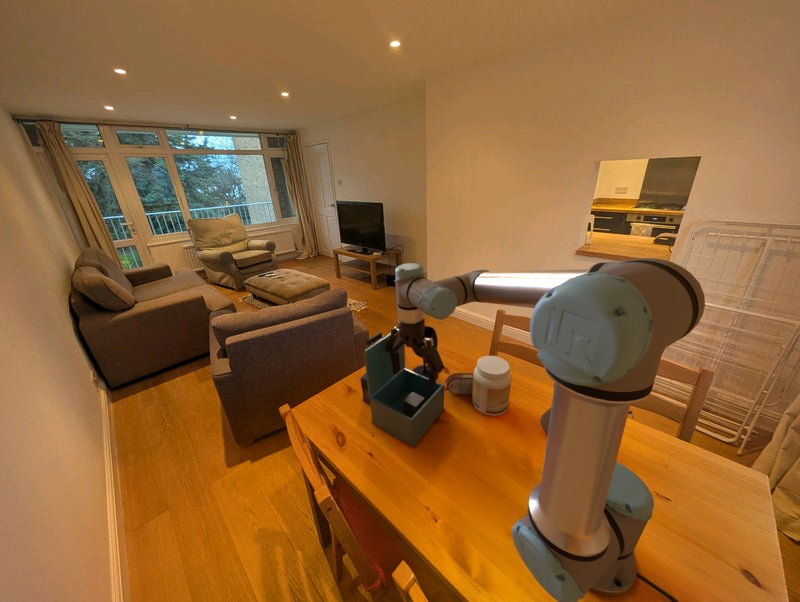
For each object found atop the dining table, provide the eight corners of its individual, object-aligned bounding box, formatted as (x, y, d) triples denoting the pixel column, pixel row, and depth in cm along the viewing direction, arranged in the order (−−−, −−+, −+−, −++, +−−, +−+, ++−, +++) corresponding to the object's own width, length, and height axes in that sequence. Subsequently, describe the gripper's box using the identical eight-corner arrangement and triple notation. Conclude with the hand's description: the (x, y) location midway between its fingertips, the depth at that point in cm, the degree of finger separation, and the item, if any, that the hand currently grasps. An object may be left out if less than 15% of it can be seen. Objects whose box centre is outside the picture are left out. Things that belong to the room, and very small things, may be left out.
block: (425, 416, 98) (424, 397, 95) (416, 425, 95) (415, 407, 91) (413, 409, 101) (412, 391, 98) (404, 419, 97) (403, 400, 94)
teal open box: (443, 409, 101) (444, 385, 97) (412, 447, 88) (411, 420, 84) (405, 391, 111) (404, 367, 107) (372, 422, 98) (369, 397, 93)
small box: (378, 383, 116) (376, 361, 112) (392, 388, 113) (390, 366, 108) (362, 400, 108) (359, 377, 103) (376, 406, 105) (374, 382, 100)
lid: (404, 325, 99) (389, 320, 102) (366, 351, 86) (351, 344, 89) (405, 367, 106) (391, 361, 110) (370, 397, 93) (356, 389, 96)
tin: (486, 389, 109) (487, 371, 106) (488, 395, 106) (489, 376, 103) (445, 390, 110) (445, 372, 107) (446, 396, 107) (446, 377, 104)
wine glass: (409, 379, 117) (407, 336, 109) (415, 364, 126) (414, 323, 118) (434, 383, 114) (434, 339, 106) (439, 367, 123) (439, 326, 115)
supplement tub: (513, 401, 103) (518, 361, 96) (499, 423, 95) (504, 381, 88) (481, 387, 111) (484, 349, 104) (465, 406, 102) (467, 366, 95)
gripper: (457, 324, 78) (455, 387, 86) (386, 304, 92) (390, 360, 101) (443, 336, 72) (442, 402, 81) (369, 313, 87) (376, 371, 95)
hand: (413, 379), depth 91 cm, fingers open, 13 cm apart
